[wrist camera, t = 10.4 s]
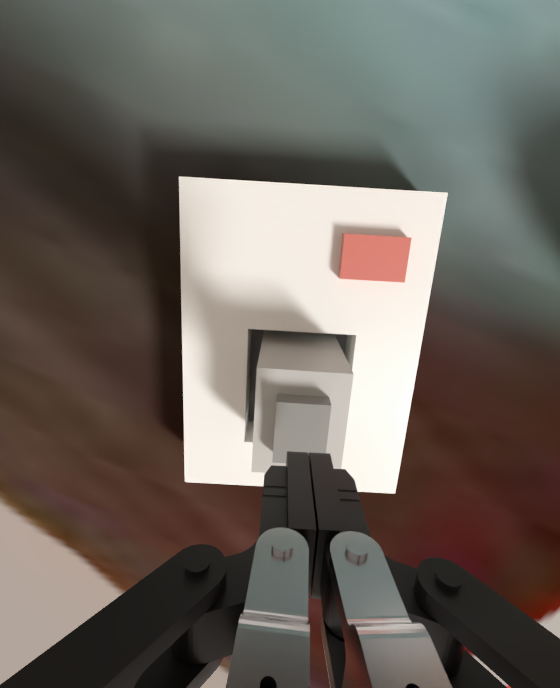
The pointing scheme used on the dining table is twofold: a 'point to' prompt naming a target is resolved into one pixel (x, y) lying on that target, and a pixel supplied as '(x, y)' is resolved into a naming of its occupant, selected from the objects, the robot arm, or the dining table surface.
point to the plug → (300, 398)
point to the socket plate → (302, 310)
